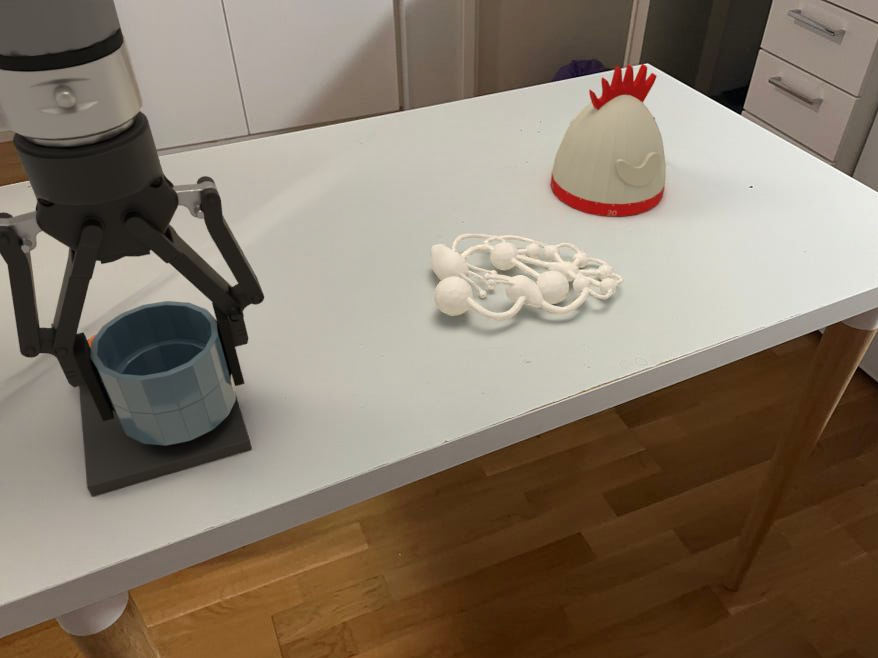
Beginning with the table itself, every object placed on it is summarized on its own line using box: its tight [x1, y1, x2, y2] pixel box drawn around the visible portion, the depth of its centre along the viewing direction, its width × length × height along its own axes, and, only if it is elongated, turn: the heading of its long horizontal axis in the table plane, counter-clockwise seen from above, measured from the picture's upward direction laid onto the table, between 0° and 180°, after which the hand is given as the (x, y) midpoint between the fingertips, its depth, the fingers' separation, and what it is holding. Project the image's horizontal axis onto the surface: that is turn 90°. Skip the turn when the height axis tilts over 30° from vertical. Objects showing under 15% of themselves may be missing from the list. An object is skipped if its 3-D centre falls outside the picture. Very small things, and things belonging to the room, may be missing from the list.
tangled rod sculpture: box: [429, 233, 625, 321], centre depth 77 cm, size 19×14×4 cm
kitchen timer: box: [550, 63, 667, 218], centre depth 89 cm, size 14×14×15 cm
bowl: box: [90, 300, 237, 446], centre depth 59 cm, size 9×9×8 cm
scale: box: [78, 338, 253, 497], centre depth 63 cm, size 16×12×3 cm
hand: (173, 390), depth 60 cm, fingers closed on bowl, 9 cm apart
